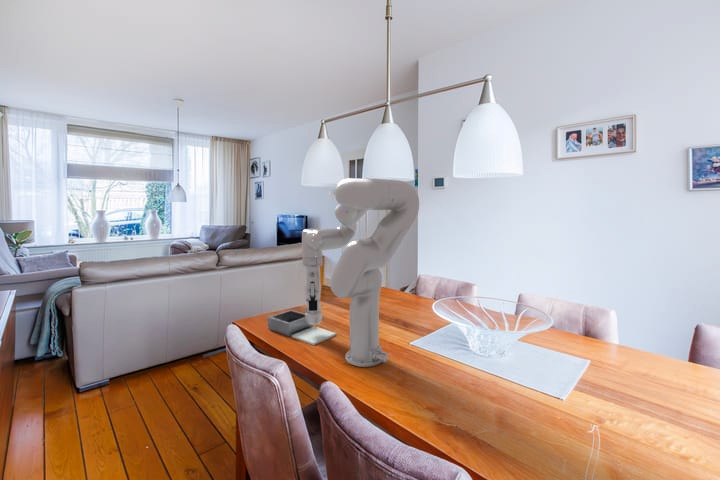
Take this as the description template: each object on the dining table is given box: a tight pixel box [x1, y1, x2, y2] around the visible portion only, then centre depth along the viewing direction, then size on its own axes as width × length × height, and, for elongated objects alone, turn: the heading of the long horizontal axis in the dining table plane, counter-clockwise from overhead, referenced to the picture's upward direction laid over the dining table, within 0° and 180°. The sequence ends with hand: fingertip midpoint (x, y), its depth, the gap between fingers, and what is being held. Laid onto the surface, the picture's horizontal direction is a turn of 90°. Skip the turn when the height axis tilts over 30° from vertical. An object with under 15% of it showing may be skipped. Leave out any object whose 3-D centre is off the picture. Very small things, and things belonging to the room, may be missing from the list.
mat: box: [291, 326, 337, 346], centre depth 129 cm, size 12×12×1 cm
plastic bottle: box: [303, 273, 323, 325], centre depth 127 cm, size 6×7×20 cm
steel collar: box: [267, 309, 314, 338], centre depth 137 cm, size 13×12×5 cm
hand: (313, 307), depth 128 cm, fingers closed on plastic bottle, 5 cm apart
